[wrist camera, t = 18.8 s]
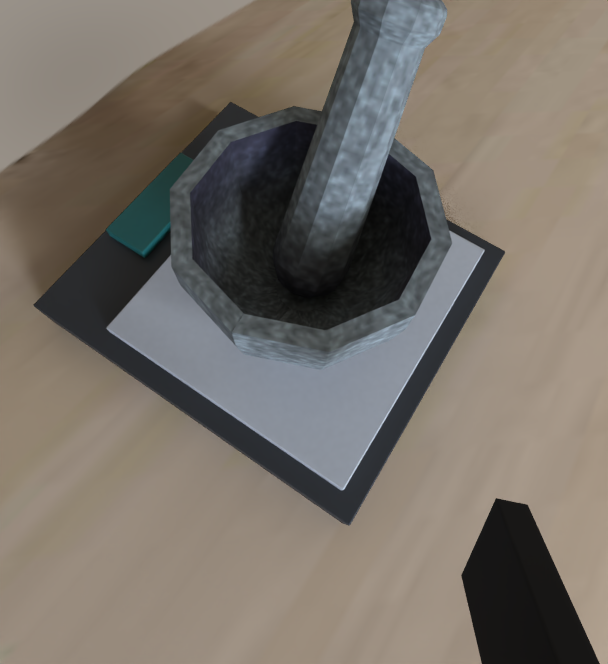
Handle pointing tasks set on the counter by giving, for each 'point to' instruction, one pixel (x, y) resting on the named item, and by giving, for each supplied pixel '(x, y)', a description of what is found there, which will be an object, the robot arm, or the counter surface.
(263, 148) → the mortar and pestle
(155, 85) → the counter surface
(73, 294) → the kitchen scale
